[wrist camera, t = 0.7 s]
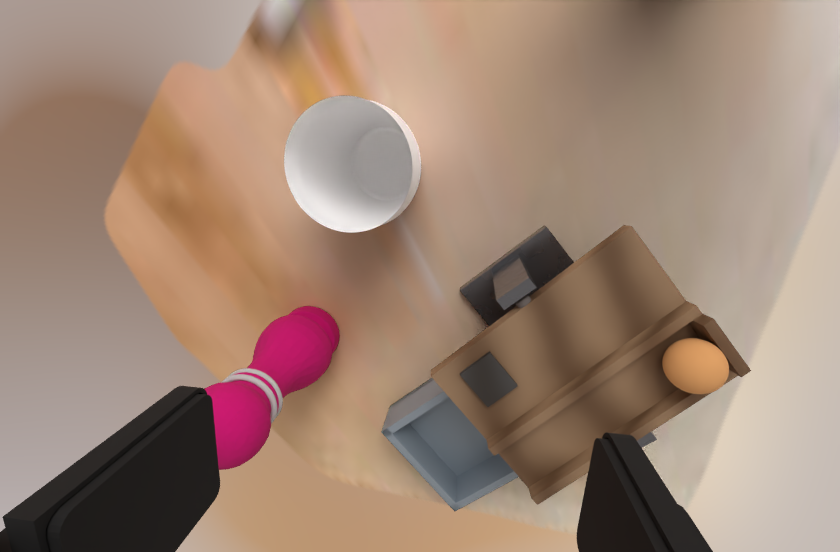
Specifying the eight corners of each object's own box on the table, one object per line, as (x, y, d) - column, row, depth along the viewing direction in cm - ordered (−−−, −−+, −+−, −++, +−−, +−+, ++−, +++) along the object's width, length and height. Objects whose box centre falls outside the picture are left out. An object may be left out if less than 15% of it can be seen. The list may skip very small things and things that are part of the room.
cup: (383, 90, 36) (340, 58, 24) (453, 164, 37) (444, 166, 25) (320, 165, 38) (255, 167, 27) (387, 231, 39) (352, 261, 28)
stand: (544, 225, 37) (564, 244, 29) (654, 368, 40) (701, 422, 31) (460, 287, 40) (456, 320, 32) (568, 417, 42) (590, 479, 34)
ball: (681, 321, 31) (723, 335, 27) (709, 359, 31) (754, 378, 27) (640, 354, 31) (676, 373, 27) (669, 391, 31) (708, 415, 27)
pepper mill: (270, 337, 44) (117, 472, 25) (300, 288, 42) (157, 394, 23) (324, 373, 45) (213, 531, 26) (356, 326, 43) (261, 461, 24)
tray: (621, 221, 30) (645, 224, 27) (725, 362, 32) (760, 383, 29) (428, 366, 33) (427, 387, 30) (534, 487, 35) (545, 520, 32)
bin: (482, 343, 41) (483, 365, 37) (551, 425, 43) (559, 454, 39) (390, 405, 45) (381, 432, 41) (456, 479, 47) (454, 511, 42)
